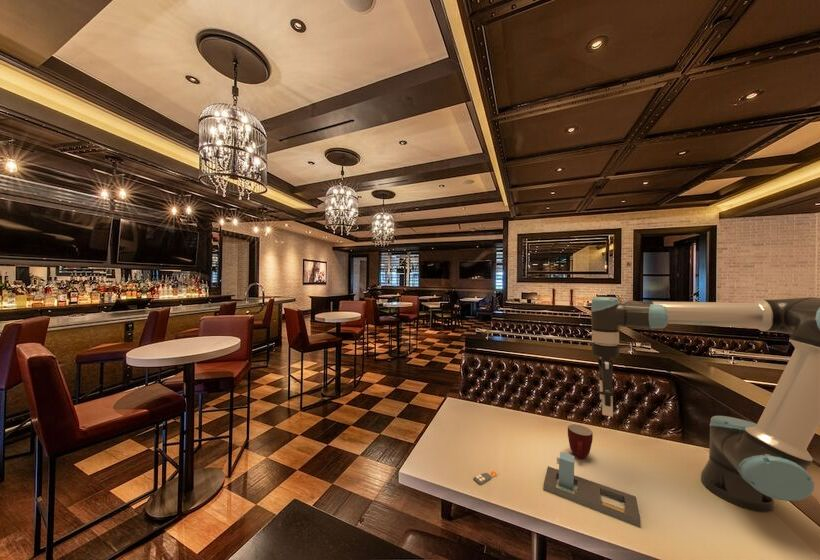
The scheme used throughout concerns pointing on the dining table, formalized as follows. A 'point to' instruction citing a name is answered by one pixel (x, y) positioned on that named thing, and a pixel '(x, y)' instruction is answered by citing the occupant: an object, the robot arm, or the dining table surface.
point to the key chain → (484, 477)
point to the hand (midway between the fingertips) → (606, 406)
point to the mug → (580, 440)
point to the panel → (595, 497)
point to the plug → (566, 470)
